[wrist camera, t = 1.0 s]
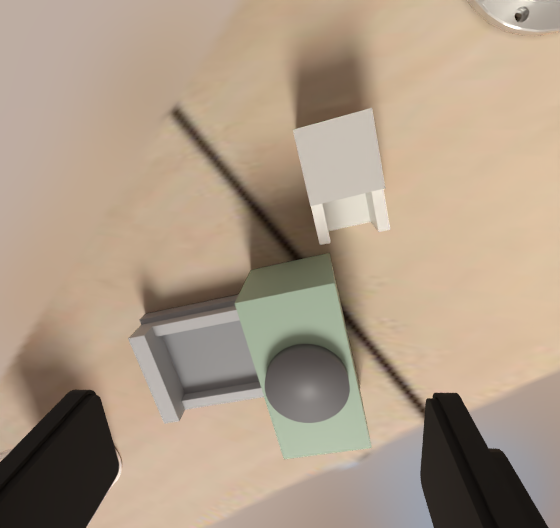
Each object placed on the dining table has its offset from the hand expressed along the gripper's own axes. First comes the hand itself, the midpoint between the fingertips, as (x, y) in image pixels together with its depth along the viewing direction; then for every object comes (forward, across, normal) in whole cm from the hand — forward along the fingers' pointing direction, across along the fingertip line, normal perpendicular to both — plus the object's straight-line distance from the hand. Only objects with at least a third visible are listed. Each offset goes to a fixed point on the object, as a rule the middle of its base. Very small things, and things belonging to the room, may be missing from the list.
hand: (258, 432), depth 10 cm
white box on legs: (+21, -4, -5) cm, 22 cm away
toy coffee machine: (+21, +5, +10) cm, 24 cm away
